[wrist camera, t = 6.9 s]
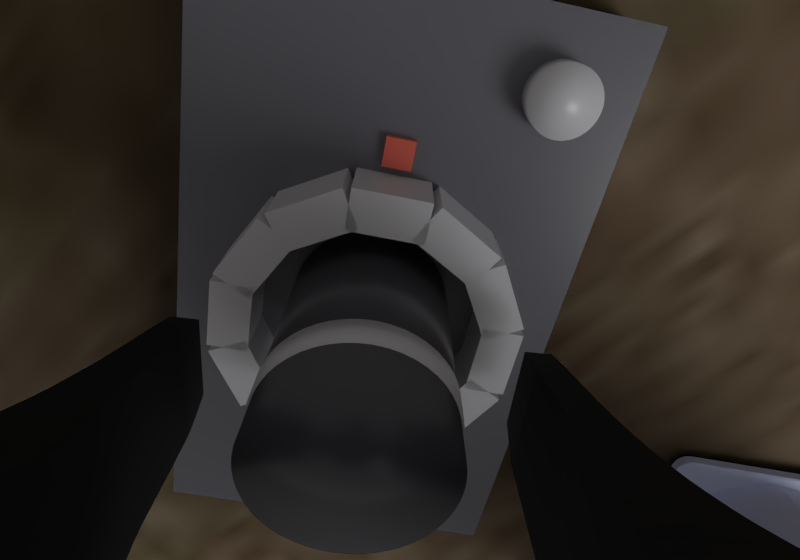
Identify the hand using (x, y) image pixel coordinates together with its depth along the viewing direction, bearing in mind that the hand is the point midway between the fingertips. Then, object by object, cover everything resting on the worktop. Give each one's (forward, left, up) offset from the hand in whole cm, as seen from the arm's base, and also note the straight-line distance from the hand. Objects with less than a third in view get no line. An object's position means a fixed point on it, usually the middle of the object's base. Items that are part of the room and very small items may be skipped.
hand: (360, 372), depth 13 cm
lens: (0, 0, -3) cm, 3 cm away
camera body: (0, 0, -5) cm, 5 cm away
